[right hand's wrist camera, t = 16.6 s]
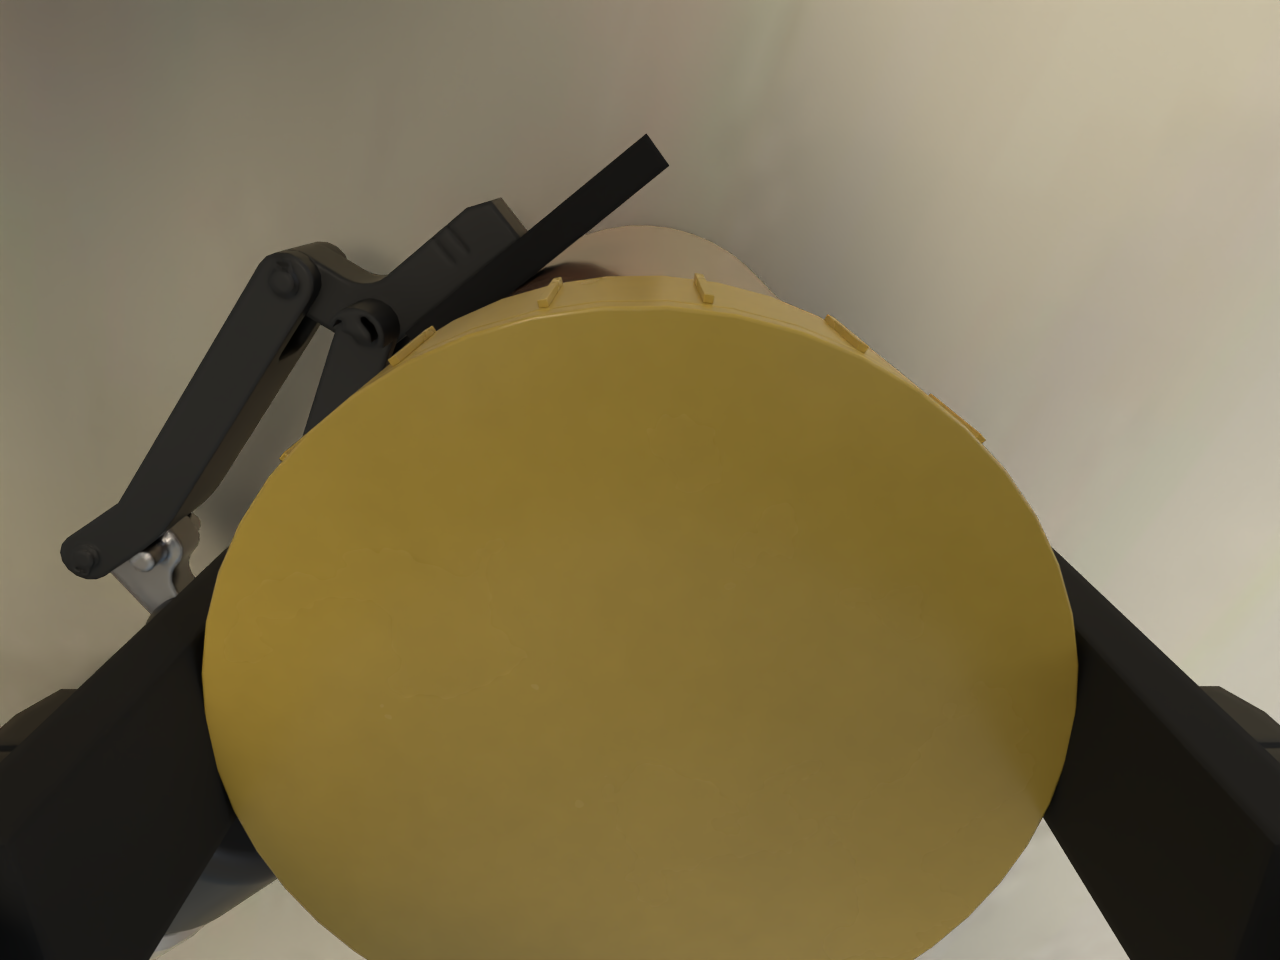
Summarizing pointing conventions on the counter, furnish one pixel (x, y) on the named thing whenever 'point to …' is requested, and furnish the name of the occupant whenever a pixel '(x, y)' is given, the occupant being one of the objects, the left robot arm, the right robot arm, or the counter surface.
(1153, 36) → the counter surface
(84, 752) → the right robot arm
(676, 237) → the jar
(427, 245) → the left robot arm
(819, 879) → the lid
